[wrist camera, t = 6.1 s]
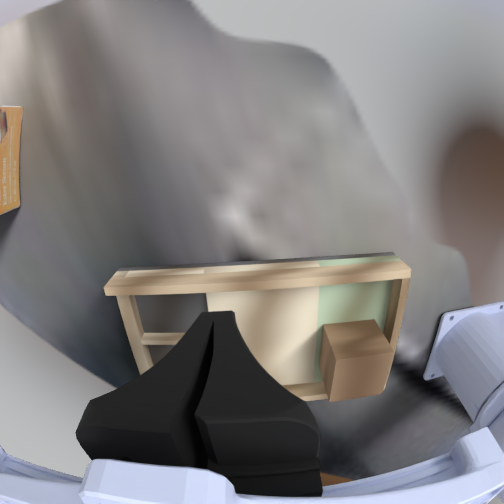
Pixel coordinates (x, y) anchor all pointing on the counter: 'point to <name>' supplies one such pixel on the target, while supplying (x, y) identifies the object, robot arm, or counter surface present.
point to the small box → (9, 157)
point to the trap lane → (264, 307)
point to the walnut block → (354, 359)
